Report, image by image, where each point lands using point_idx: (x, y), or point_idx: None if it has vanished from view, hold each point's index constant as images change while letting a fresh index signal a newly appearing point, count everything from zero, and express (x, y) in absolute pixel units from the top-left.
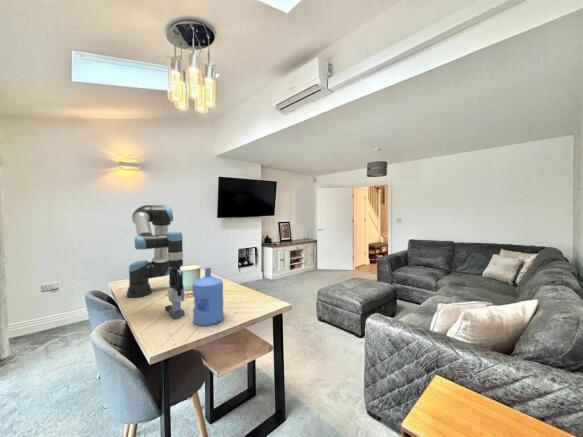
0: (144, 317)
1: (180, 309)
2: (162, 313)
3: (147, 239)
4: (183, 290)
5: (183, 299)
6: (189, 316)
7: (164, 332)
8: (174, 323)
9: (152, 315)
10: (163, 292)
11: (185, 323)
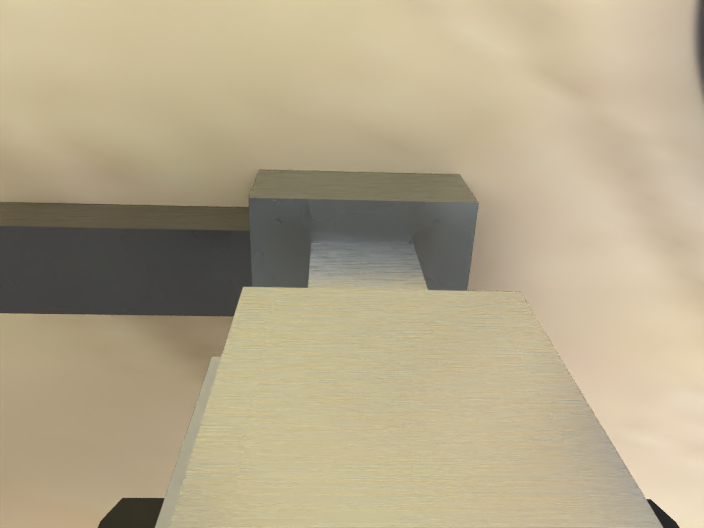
0: (104, 508)
1: (414, 252)
2: (116, 346)
3: None
4: (638, 501)
5: (527, 316)
6: (542, 131)
7: (674, 483)
8: (569, 355)
9: (100, 441)
10: None
11: (698, 269)
